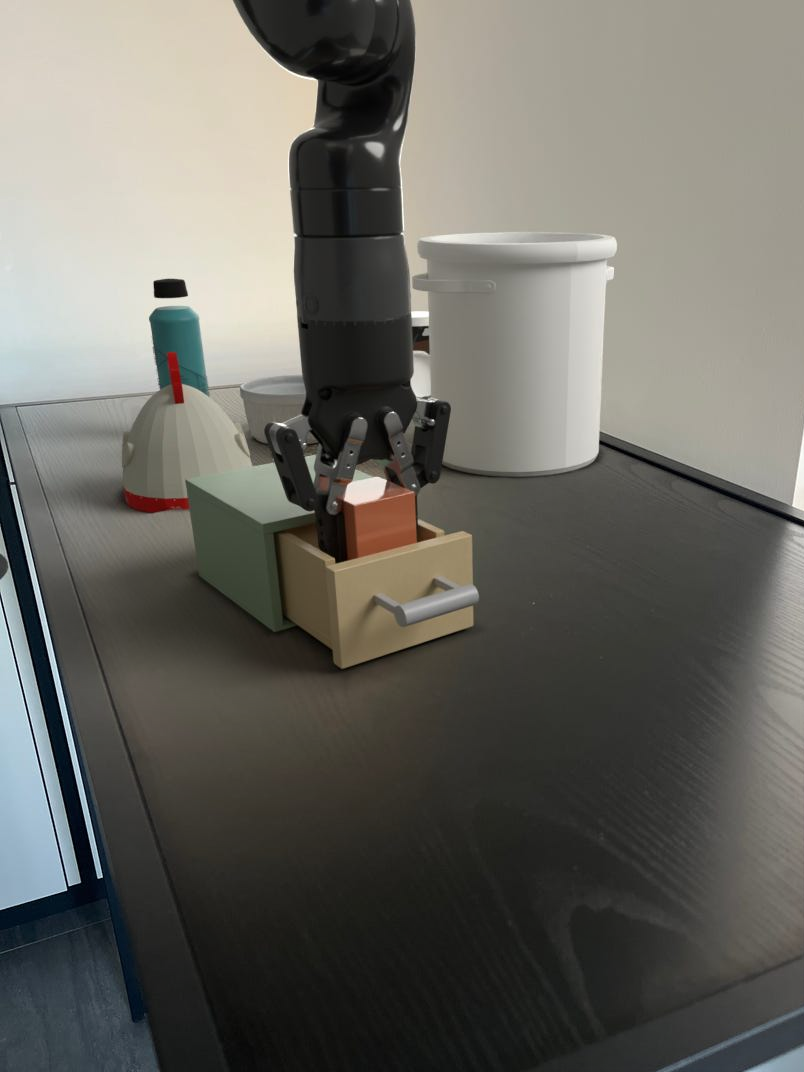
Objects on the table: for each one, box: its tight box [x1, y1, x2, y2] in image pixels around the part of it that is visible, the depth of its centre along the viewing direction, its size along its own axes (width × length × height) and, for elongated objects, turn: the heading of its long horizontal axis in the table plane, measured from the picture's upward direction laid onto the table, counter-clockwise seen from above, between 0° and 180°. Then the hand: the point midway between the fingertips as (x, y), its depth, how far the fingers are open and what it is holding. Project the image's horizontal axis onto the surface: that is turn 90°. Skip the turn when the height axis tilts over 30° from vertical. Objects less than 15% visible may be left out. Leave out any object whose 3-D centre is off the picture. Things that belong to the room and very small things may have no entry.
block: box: [340, 476, 417, 561], centre depth 70 cm, size 5×5×5 cm
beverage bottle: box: [148, 278, 211, 398], centre depth 126 cm, size 6×7×20 cm
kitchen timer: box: [121, 352, 254, 514], centre depth 104 cm, size 14×14×15 cm
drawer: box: [273, 518, 480, 670], centre depth 72 cm, size 18×11×7 cm, turn 37°
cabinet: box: [185, 454, 374, 633], centre depth 81 cm, size 15×13×9 cm
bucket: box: [411, 231, 618, 478], centre depth 114 cm, size 26×22×25 cm
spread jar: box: [410, 311, 431, 398], centre depth 152 cm, size 12×11×12 cm
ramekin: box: [239, 374, 319, 445], centre depth 129 cm, size 13×13×7 cm
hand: (369, 550), depth 71 cm, fingers closed on block, 5 cm apart
